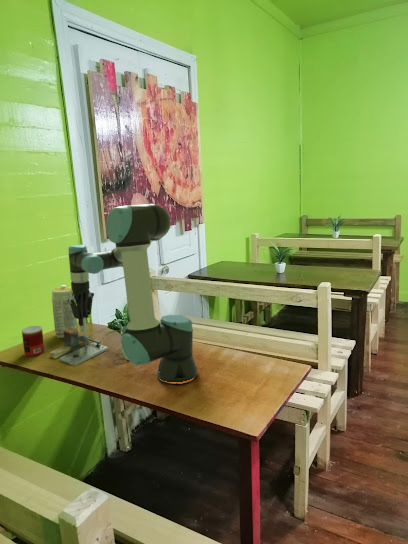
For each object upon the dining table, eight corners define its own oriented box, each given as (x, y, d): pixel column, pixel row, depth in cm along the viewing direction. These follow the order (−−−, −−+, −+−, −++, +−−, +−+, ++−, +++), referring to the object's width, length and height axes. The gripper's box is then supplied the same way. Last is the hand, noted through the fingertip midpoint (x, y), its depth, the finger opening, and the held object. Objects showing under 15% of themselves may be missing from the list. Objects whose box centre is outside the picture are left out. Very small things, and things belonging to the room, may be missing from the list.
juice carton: (79, 331, 193) (75, 283, 187) (75, 338, 185) (70, 288, 179) (59, 332, 192) (54, 284, 186) (54, 339, 185) (49, 289, 179)
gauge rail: (103, 347, 176) (102, 340, 175) (69, 364, 161) (68, 355, 160) (83, 341, 182) (82, 333, 182) (49, 356, 168) (48, 348, 167)
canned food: (47, 349, 174) (45, 325, 171) (38, 357, 166) (35, 333, 164) (30, 348, 175) (28, 325, 172) (21, 357, 167) (18, 332, 164)
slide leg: (92, 352, 171) (91, 333, 169) (85, 355, 167) (83, 337, 165) (72, 345, 178) (70, 327, 176) (64, 348, 174) (62, 330, 172)
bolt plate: (108, 349, 174) (107, 346, 174) (74, 366, 159) (74, 363, 159) (93, 344, 179) (93, 341, 179) (59, 360, 164) (59, 357, 164)
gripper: (85, 276, 180) (89, 325, 186) (61, 282, 170) (66, 334, 176) (97, 278, 176) (100, 328, 182) (73, 285, 166) (77, 338, 172)
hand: (83, 331), depth 179 cm, fingers closed
